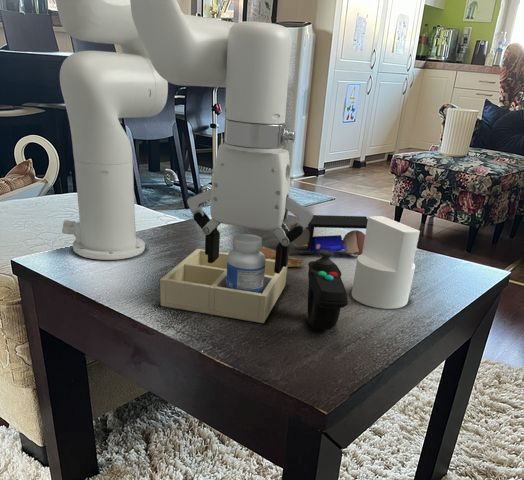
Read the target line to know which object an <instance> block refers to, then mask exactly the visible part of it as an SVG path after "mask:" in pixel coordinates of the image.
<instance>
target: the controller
mask: <svg viewBox="0 0 524 480" xmlns="http://www.w3.org/2000/svg"><path fill="white" fill-rule="evenodd" d="M334 253H335V252H334V251H330V250H320V251H319V252H317V254H318V255H319V256H320V258H318V259H316V260H311V261H308V273H307V278H308V279H307V280H308V289H307V317H308V318H307V319H308V324H309V325H310V326H311V328H313V329H315V330H326V331H327V330H331V329H333V328H335V326H337V323H338V322H339V317H340V314H341V309H344V308H346V307H347V306H348V305H349V299H348V292H347V289H346V287H345V284H344V283H343V280H342V272H341V270H340V268H339V267H338V265H337V264H336V263H335V262H334V261H333V260H332V259H331V257H333V256H334Z"/></svg>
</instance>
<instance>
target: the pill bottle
mask: <svg viewBox="0 0 524 480" xmlns="http://www.w3.org/2000/svg"><path fill="white" fill-rule="evenodd" d="M262 246H263V239H262V237H260V236H259V235H257V234H252V233H240V234H235V235H234V236H233V238H232V248H233V249H232V250H231V251H230V252H228V253H229V254H228V258H227V280H226V288H230V289H237V290H243V291H249V292H255V293H261V294H262V293H263V284H264V273H265V260H266V259H265V256H264V254H263V253H262V252H260V250H261V248H262Z"/></svg>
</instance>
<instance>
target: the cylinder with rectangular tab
mask: <svg viewBox="0 0 524 480" xmlns="http://www.w3.org/2000/svg"><path fill="white" fill-rule="evenodd" d="M367 219H368V222H367V228H366V229H365V233H364V234H365V240H364V246H363V252H362V254H361V255H359V256H356V257H357V258H356V263H355V264H356V265H355V269H354V276H353V283H352V287H351V288H352V289H351V297H352V298H353V299H354V300H356V301H357V302H359V303H360V304H363V305H364V306H365V305H366V306H368V307H372V308H377V309H384V310H385V309H387V310H389V309H390V310H391V309H392V310H393V309H401V308H403V307H405V306H406V305H407V304H408V303H409V298H410V294H411V289H412V285H413V280H414V274H415V270H416V264H415V263H414V262H415V258H416V257H415V256H416V252H417V248H418V243H419V238H420V235H421V234H420V233H421V230H419V229H416V228H414V227H412V226H409V225H406V224H404V223H401V222H399V221H397V220H394V219H391V218H390V217H389V218H388V217H386V216H384V215H374V216H368V217H367Z"/></svg>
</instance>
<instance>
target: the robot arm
mask: <svg viewBox="0 0 524 480" xmlns="http://www.w3.org/2000/svg"><path fill="white" fill-rule="evenodd" d="M55 6H56V10H57V14H58V18H59V21H60V24H61V26H62V28H63V30H64V31H65V33H66V34H67V35H68V36H70V38H71V37H72V38H74V39H76V40H78V41H83V42H87V43H88V42H89V43H97V44H108V45H109V44H110V45H119V46H120V49H121V52H117V51H116V52H115V51H103V50H81V51H76V52H73V53H71V54H69V55H68V56H67V57H66V58H65V59H64V60H63V62H62V64H61V67H60V69H59V85H60V90H61V94H62V98H63V101H64V105H65V109H66V113H67V118H68V122H69V127H70V136H71V143H72V154H73V161H74V171H75V173H74V174H75V183H76V184H75V185H76V196H77V206H78V207H77V208H78V217H79V219H78V220H79V221H78V222H77V221H76V220H67V219H65V220H64V221H63V223H62V228H61V232H62V234H66V235H73V236H74V240H73V242H72V250H73V252H74V253H75V254H76V255H78V256H81V257H84V258H88V259H92V260H100V261H101V260H102V261H103V260H104V261H112V260H113V261H114V260H116V261H117V260H125V259H130V258H134V257H137V256H139V255H141V254H142V253H143V252H144V251H145V248H146V243H145V241H144V240H143V239H141V238H139V237H137V234H136V210H135V209H136V208H135V185H134V182H135V181H134V160H133V147H132V144H131V141H130V138H129V137H128V135H127V133H126V131H125V129H124V128H123V126H122V125H121V122H120V120H119V119H125V118H126V119H129V118H130V119H131V118H137V119H138V118H151V117H155V116H157V115H158V114H160V113H161V112H162V111H163V110H164V109H165V106H166V104H167V100H168V94H169V83H170V84H172V85H175V86H182V87H183V86H184V87H209V88H225V103H224V127H223V129H224V132H223V143H221V144H219V145H218V149H217V153H216V156H215V162H214V167H213V174H212V181H211V188H210V189H207V190H205V191H202V192H200V193H197V194H195V195H193V196H191V197H189V198H188V199H187V200H186V203H187V205H188V208H189V210H190V212H191V214H192V215H193V216H192V217H193V218H192V219H193V220H194V221H195V223H196V224H197V225H198V226H199V227H200V229H201V232H202V234H203V235H204V236H205V237H204V238H205V239H204V250H205V255H208V263H213V262H214V261H215V260H216V259H218V257H219V252H220V243H221V242H220V240H221V238H220V237H221V232H220V230H219V229H218V227H219V226H220V225H221V224H223V225H228V226H235V227H241V228H250V229H256V230H264V231H272V232H273V234H274V235H275V237H276V238H277V240H278V244H277V245H276V247H275V251H276V257H275V268H274V272H275V273H277V274H279V273H280V272H281V270H282V269H283V267H286V266H287V264H288V256H290V245H291V244H292V243H293V241H294V240H295V239H296V238H298V237H299V236H300V235H301V234H302V233H303V231H304V230H305V229H306V227H308V224H309V223H310V221H311V220H312V218H313V215H314V214H313V212H311V211H310V210H309V209H307V208H306V207H304V206H303V205H302V204H300V203H298V202H297V201H296V200H295V199H293V198H292V197H290V195H291V192H290V191H291V160H290V152H289V150H287V149H285V148H283V147H284V146H285V144H288V143H295V139H296V130H291V129H289V128H288V127H287V124H286V123H285V122H286V114H287V112H286V111H287V103H288V102H287V101H288V92H289V91H288V90H289V81H290V80H289V78H290V69H291V56H292V41H293V39H292V35H291V32H290V30H289V29H288V28H287V27H286V26H284V25H281V24H279V23H278V24H277V23H271V22H262V21H249V20H248V21H244V20H243V21H237V22H233V21H228V20H223V19H222V20H221V19H217V18H212V17H206V16H200V15H192V14H185V13H184V12H183V10H182V9H181V7H180V4H179V2H178V0H55ZM208 201H210V203H209V206H210V207H209V211H210V217H211V218H210V217H209V216H208V215H207V213H206V212H204V210H203V206H202V204H204V203H206V202H208ZM289 213H291V214H292V215H294V216H295V217H296V218H298V221H299V223H298V224H297V226H295V227H294V228H293V229H292V230H290V227H289V226H288V225H287V223H286V222H287V220H288V218H289Z"/></svg>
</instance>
